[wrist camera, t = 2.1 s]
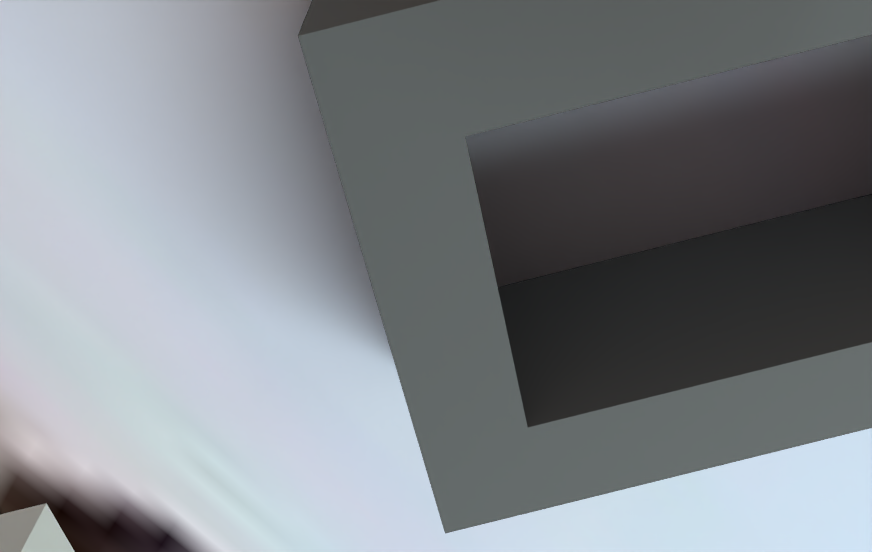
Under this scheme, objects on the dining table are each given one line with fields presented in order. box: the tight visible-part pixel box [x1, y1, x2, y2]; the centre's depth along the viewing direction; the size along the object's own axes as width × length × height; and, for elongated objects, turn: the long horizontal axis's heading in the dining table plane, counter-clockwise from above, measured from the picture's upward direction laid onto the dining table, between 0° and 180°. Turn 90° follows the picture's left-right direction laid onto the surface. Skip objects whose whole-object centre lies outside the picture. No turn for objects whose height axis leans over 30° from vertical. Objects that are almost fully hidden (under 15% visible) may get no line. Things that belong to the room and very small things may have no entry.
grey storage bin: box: [298, 0, 872, 533], centre depth 19 cm, size 20×12×7 cm, turn 103°
